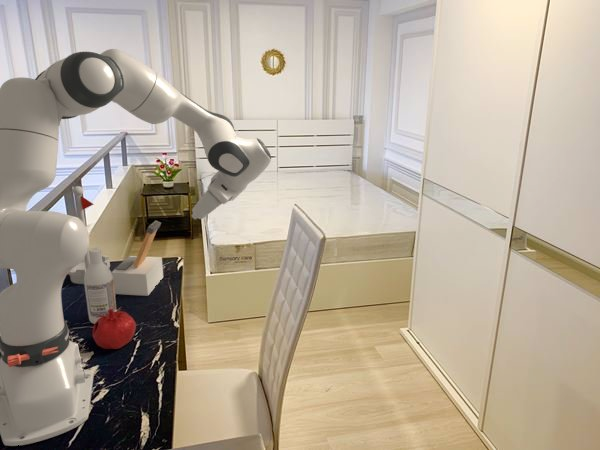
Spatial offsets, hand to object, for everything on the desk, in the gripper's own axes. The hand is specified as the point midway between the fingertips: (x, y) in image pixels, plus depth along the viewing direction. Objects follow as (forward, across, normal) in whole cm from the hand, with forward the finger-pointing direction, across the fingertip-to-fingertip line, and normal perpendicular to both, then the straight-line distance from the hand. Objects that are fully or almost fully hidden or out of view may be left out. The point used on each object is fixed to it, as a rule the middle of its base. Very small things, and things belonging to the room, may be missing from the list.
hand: (194, 216), depth 133 cm
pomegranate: (+25, +31, +8) cm, 41 cm away
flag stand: (+43, -4, -9) cm, 44 cm away
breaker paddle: (+25, 0, -1) cm, 25 cm away
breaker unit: (+30, 0, +4) cm, 30 cm away
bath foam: (+31, +20, +3) cm, 37 cm away
